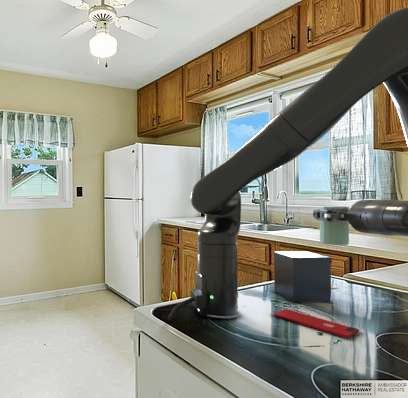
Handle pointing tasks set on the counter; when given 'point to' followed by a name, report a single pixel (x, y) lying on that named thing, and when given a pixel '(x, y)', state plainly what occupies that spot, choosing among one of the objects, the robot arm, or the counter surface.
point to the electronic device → (317, 323)
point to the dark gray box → (302, 276)
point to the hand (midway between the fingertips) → (327, 214)
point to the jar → (334, 231)
